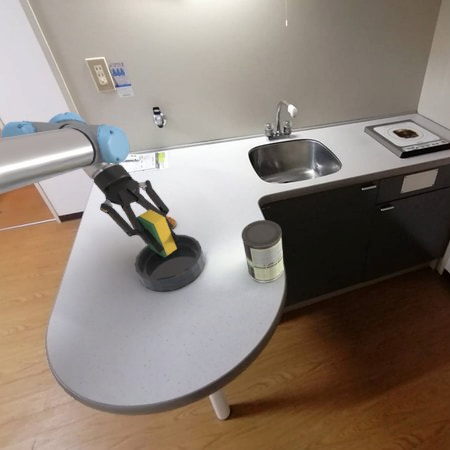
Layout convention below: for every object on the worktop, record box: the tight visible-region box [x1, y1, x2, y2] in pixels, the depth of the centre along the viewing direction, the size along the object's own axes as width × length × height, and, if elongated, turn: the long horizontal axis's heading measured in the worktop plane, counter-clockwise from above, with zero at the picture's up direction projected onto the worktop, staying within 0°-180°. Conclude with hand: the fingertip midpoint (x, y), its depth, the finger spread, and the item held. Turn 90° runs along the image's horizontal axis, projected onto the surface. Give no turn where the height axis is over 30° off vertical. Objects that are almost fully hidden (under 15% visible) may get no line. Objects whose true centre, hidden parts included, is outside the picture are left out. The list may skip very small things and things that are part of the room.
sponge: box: [136, 210, 177, 257], centre depth 79 cm, size 4×6×11 cm, turn 56°
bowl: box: [134, 234, 205, 292], centre depth 87 cm, size 18×18×5 cm
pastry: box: [166, 215, 177, 229], centre depth 101 cm, size 9×7×4 cm
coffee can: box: [241, 219, 285, 284], centre depth 83 cm, size 10×10×14 cm
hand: (169, 245), depth 79 cm, fingers closed on sponge, 4 cm apart
